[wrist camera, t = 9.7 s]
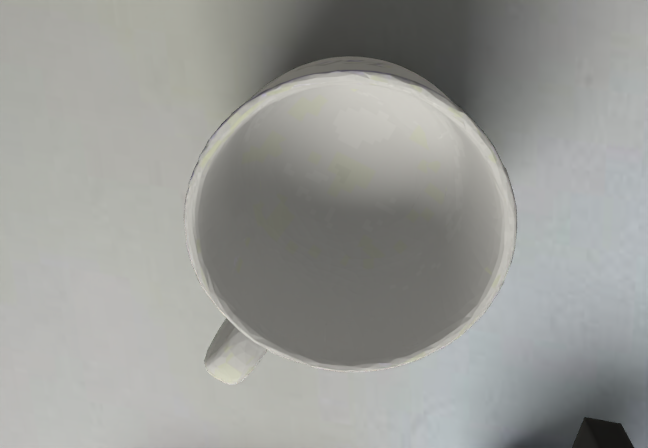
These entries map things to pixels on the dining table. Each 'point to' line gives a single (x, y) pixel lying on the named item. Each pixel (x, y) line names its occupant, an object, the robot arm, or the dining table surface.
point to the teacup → (347, 221)
